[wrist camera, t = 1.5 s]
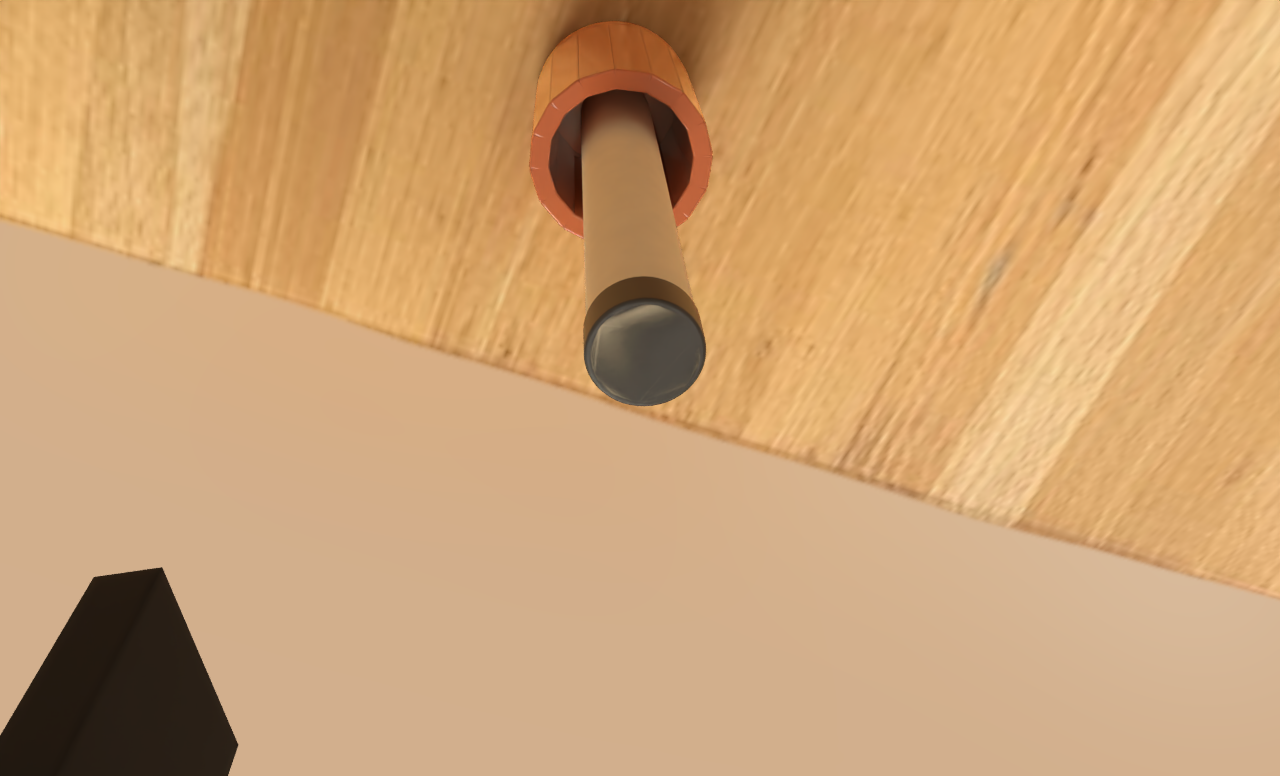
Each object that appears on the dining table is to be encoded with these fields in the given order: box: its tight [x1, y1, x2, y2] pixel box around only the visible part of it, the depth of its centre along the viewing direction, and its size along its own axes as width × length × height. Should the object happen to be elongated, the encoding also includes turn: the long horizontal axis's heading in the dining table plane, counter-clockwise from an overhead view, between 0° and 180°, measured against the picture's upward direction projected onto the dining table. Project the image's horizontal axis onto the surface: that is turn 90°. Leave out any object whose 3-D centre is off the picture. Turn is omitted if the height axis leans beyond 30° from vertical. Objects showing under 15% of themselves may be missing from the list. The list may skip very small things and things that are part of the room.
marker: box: [581, 89, 706, 406], centre depth 26 cm, size 2×2×16 cm
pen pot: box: [529, 21, 713, 239], centre depth 31 cm, size 5×5×6 cm
